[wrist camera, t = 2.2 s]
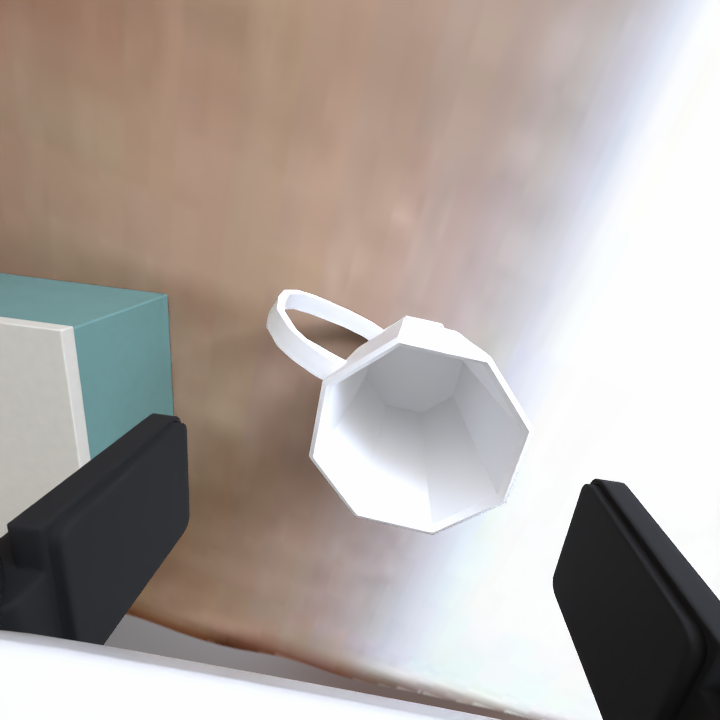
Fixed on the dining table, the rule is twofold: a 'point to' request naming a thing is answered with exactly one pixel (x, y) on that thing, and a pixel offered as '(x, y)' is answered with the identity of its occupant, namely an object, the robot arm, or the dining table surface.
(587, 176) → the dining table surface
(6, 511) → the stand
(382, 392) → the cup
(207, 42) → the dining table surface
